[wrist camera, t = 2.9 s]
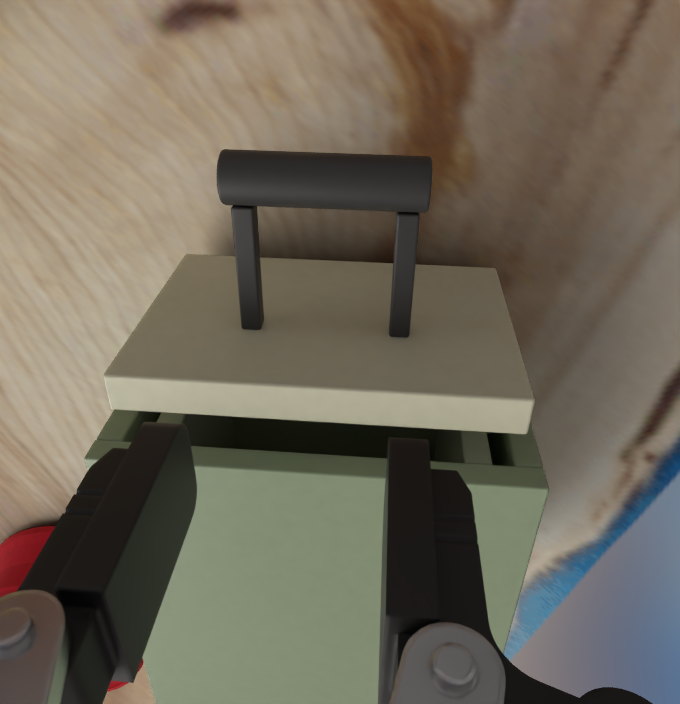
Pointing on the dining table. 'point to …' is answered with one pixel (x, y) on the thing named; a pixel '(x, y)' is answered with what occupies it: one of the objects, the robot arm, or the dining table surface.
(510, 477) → the cabinet
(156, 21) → the dining table surface
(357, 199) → the drawer
